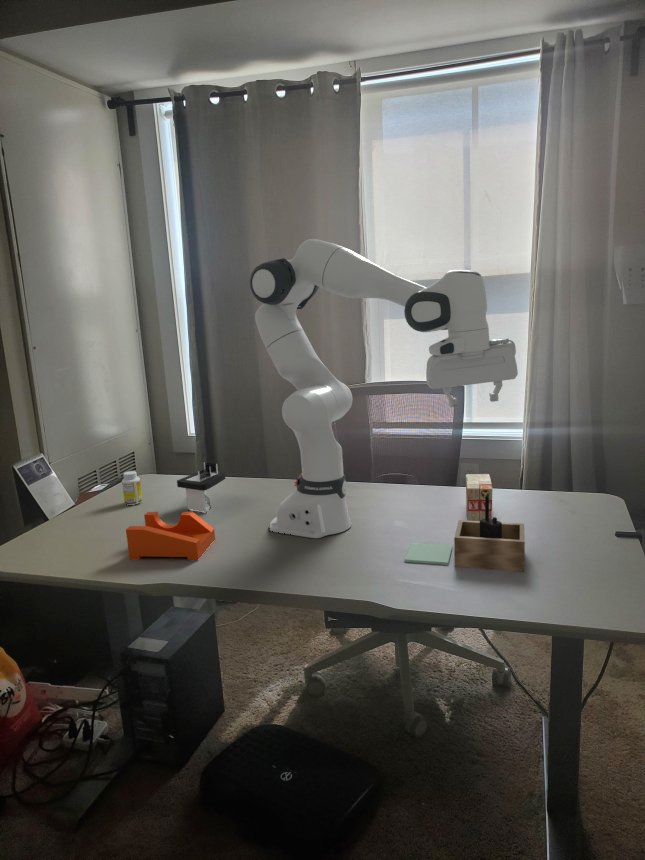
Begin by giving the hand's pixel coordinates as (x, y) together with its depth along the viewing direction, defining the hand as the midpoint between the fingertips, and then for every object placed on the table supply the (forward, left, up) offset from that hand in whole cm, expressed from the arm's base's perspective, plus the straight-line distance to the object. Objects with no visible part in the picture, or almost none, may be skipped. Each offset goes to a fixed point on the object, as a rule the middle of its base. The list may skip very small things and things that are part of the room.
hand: (473, 403), depth 141 cm
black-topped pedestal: (-81, +18, -36) cm, 91 cm away
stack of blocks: (0, +21, -36) cm, 42 cm away
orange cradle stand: (-74, -13, -36) cm, 84 cm away
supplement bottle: (-107, +18, -36) cm, 114 cm away
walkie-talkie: (+4, -5, -36) cm, 36 cm away
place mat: (-10, -5, -36) cm, 37 cm away
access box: (+4, -5, -36) cm, 36 cm away
